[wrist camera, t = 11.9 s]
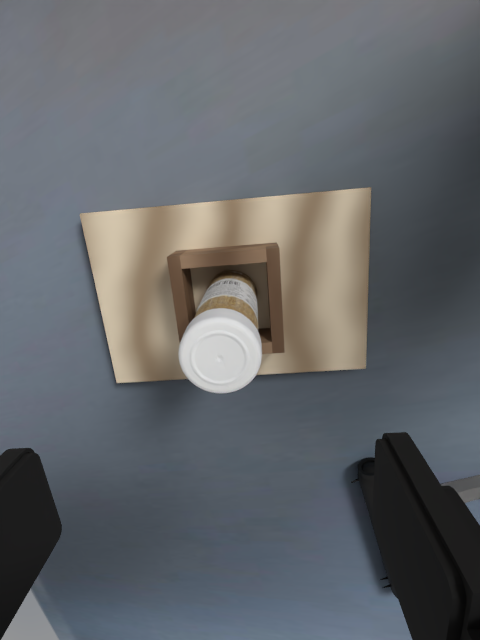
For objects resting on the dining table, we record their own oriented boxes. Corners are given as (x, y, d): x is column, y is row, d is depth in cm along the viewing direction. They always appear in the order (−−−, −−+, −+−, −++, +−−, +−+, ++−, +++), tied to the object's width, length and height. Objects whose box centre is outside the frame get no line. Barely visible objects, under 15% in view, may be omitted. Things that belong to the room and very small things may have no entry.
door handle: (510, 437, 35) (350, 482, 36) (528, 578, 41) (390, 613, 42) (487, 417, 38) (340, 460, 39) (507, 551, 44) (379, 585, 45)
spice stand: (365, 187, 30) (386, 185, 25) (361, 361, 35) (377, 387, 30) (87, 213, 31) (57, 215, 27) (122, 375, 36) (102, 402, 32)
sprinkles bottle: (204, 314, 32) (173, 391, 20) (209, 265, 31) (179, 313, 18) (254, 321, 32) (256, 401, 20) (262, 271, 31) (268, 324, 18)
